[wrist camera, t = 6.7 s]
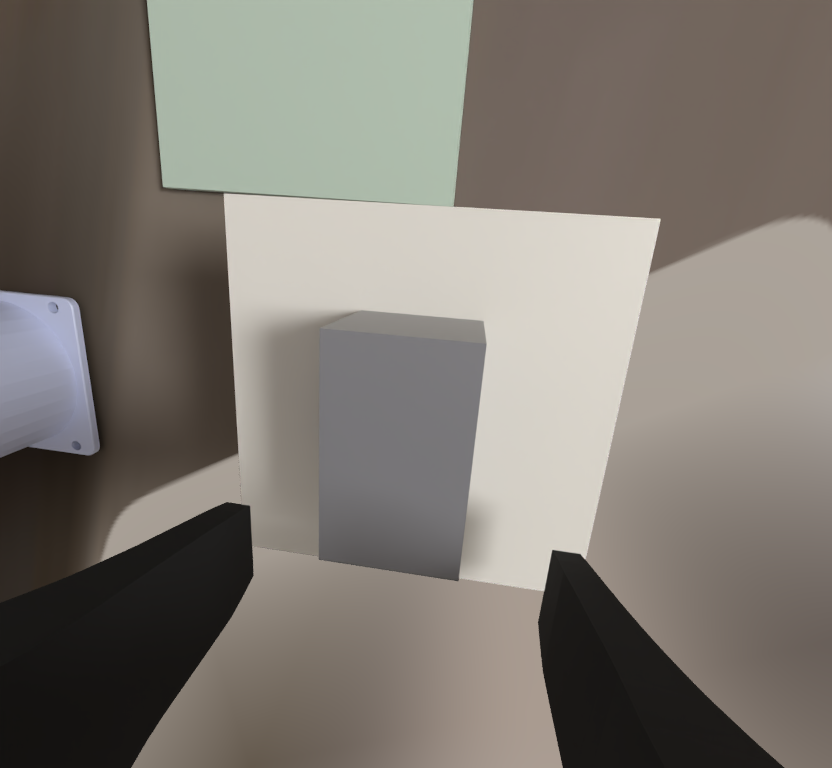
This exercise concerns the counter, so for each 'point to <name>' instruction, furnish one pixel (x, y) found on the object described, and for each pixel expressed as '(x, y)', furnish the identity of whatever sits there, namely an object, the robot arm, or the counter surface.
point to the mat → (311, 97)
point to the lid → (429, 379)
